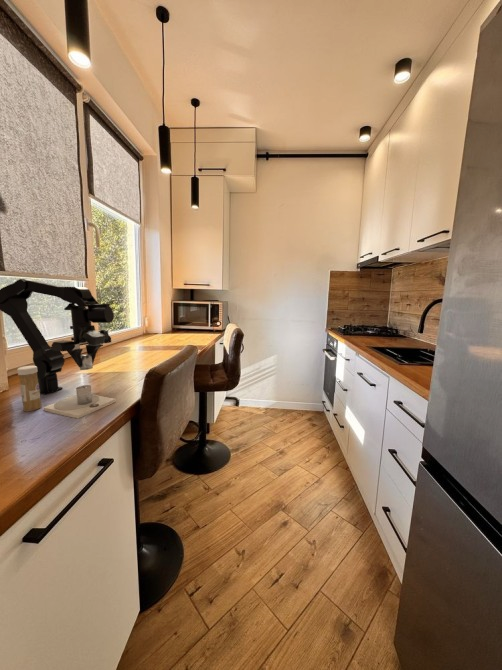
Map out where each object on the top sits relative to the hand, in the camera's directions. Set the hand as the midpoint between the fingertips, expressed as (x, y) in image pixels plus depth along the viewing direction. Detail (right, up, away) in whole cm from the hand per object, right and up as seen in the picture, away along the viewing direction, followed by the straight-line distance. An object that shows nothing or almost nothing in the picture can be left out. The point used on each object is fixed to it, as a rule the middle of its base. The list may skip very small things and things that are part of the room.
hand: (86, 365), depth 95 cm
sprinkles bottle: (-8, -12, -13) cm, 20 cm away
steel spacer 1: (0, -1, 0) cm, 1 cm away
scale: (+5, -12, -11) cm, 17 cm away
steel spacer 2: (+7, -10, -12) cm, 18 cm away
